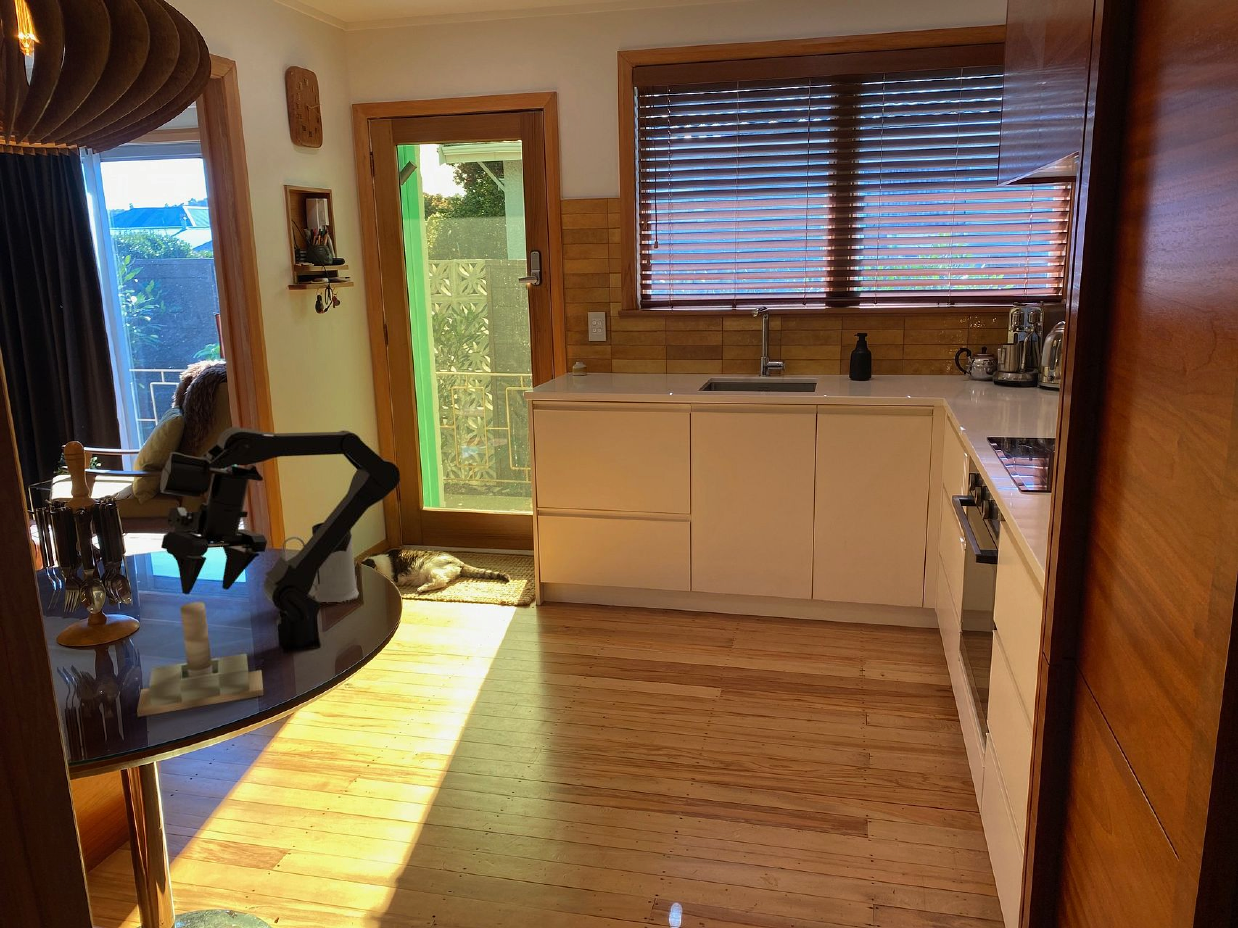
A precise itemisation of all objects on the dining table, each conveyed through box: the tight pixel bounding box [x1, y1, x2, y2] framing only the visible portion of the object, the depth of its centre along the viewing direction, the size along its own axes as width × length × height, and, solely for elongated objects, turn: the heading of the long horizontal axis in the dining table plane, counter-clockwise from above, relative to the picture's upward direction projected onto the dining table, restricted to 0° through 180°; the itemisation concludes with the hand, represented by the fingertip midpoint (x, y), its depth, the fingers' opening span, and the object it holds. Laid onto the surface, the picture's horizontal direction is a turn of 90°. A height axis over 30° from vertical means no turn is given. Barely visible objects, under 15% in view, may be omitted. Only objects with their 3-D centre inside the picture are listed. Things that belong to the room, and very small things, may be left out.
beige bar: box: [180, 601, 213, 677], centre depth 149 cm, size 4×4×14 cm
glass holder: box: [281, 521, 360, 604], centre depth 193 cm, size 9×14×15 cm, turn 116°
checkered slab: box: [136, 653, 264, 717], centre depth 150 cm, size 18×8×4 cm, turn 112°
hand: (206, 591), depth 160 cm, fingers open, 9 cm apart
